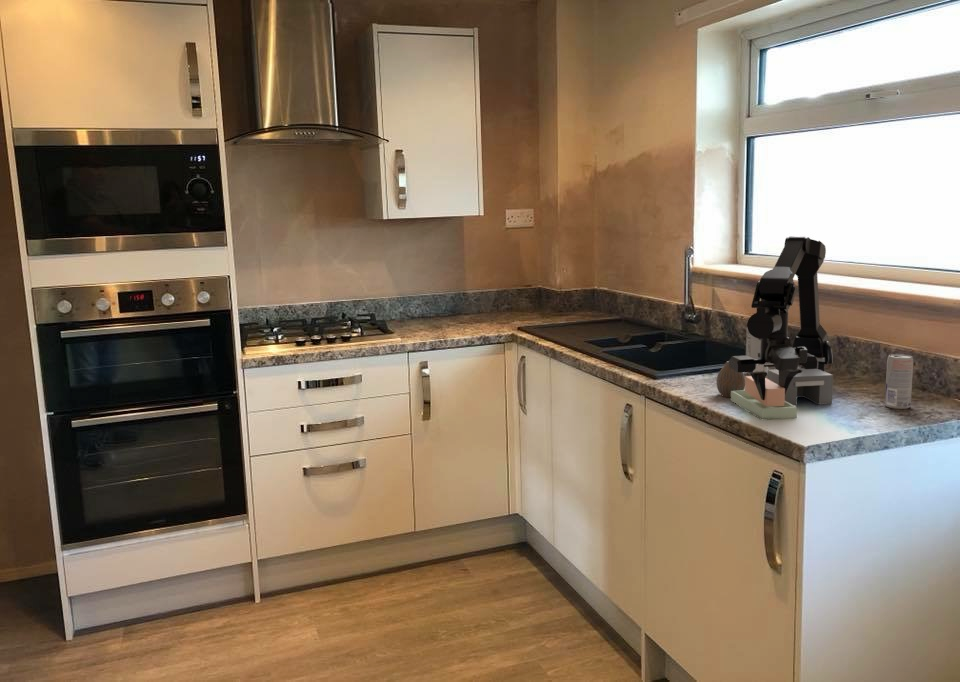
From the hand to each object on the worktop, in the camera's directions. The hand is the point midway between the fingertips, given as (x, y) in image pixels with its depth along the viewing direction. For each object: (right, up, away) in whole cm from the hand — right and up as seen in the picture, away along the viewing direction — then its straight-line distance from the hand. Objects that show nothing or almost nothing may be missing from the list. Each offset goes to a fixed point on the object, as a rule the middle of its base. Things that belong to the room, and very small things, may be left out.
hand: (772, 399), depth 184 cm
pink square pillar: (0, 0, +5) cm, 5 cm away
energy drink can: (+11, +4, +43) cm, 45 cm away
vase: (-4, -1, +19) cm, 19 cm away
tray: (0, -3, +5) cm, 6 cm away
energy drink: (+31, -2, +4) cm, 31 cm away
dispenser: (+11, -1, +12) cm, 17 cm away
